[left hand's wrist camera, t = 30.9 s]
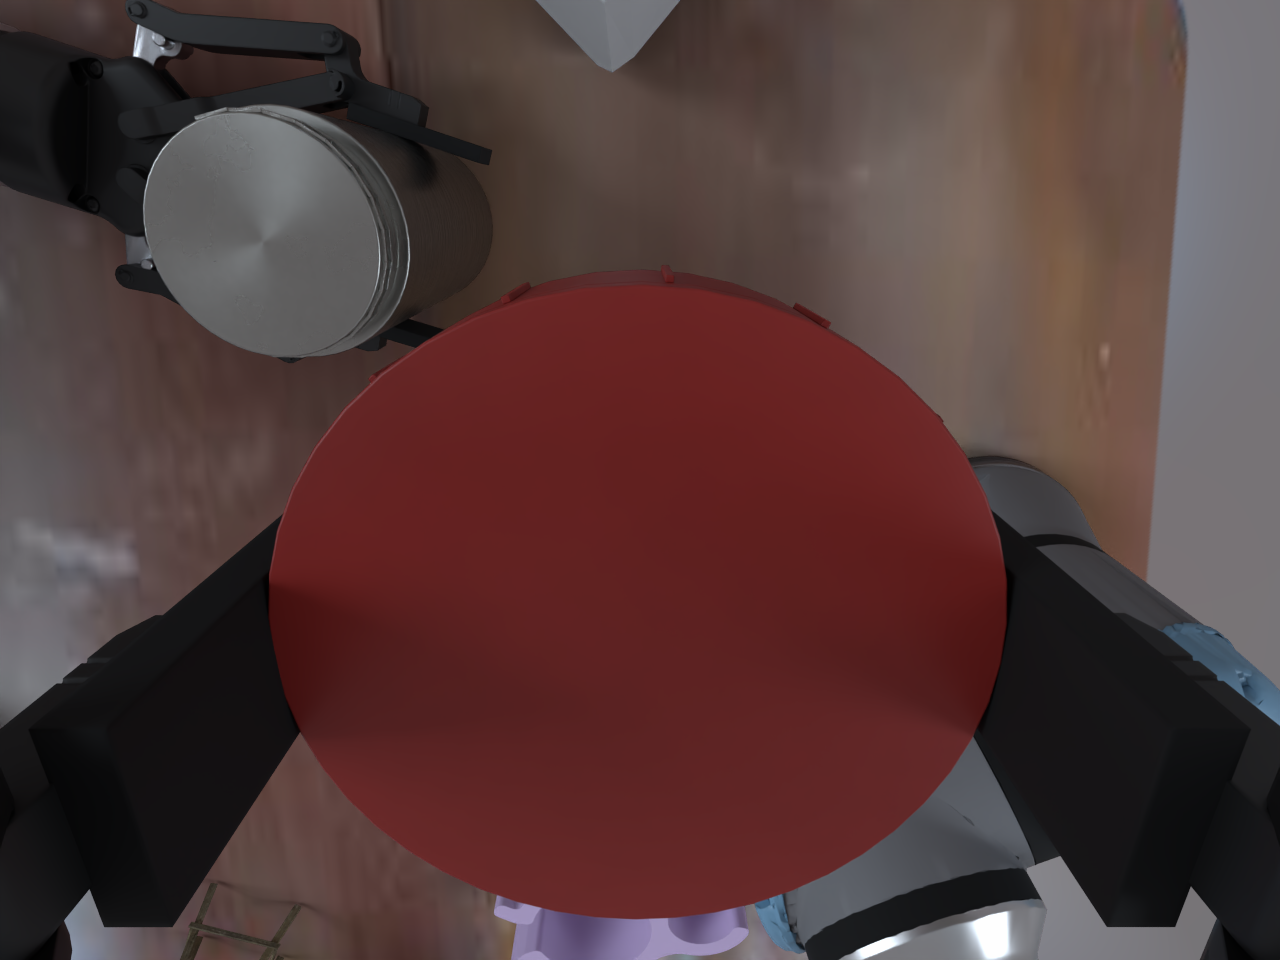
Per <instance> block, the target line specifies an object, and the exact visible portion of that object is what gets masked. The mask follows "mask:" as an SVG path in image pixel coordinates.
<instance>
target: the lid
mask: <svg viewBox="0 0 1280 960" xmlns="http://www.w3.org/2000/svg"><path fill="white" fill-rule="evenodd" d="M793 308H794V309H793ZM793 308H792V307H790V306H788V305H786V304H784V303H782V302H780V301H779V300H777V299H775V298H772V297H769V296H767V295H764V294H761V293H758V292H756V291H753V290H750V289H748V288H745V287H742V286H739V285H737V284H734V283H730V282H726V281H721V280H716V279H712V278H707V277H703V276H698V275H694V274H689V273H678V272H672V271H671V269H670V267H669V266H668V265H662V267H661V271H653V270H626V271H609V272H594V273H589V274H584V275H579V276H574V277H569V278H564V279H559V280H554V281H549V282H546V283H543V284H540V285H537V286H535V287H532V288H531V287H530V284H529V282H527V283H524V284H522V285H520V286H518V287H517V288H515V289H514V290H512V291H510V292H509V293H507V294H505V295H504V296H502V297H501V299H500V300H498V301H496V302H494V303H492V304H490V305H488V306H486V307H484V308H483V309H481V310H479V311H477V312H475V313H473V314H471V315H469V316H467V317H465V318H464V319H462V320H460V321H459V322H457V323H455V324H454V325H452V326H450V327H449V328H447V329H445V330H444V331H442V332H440V333H439V334H437V335H435V336H434V337H432V338H430V339H429V340H427V341H425V342H424V343H422V344H421V345H420V346H418V347H417V348H415V349H414V350H412V351H411V352H409V353H407V354H406V355H404V356H402V357H401V358H399V359H398V360H396V361H394V362H393V363H391V364H389V365H388V366H386V367H384V368H383V369H381V370H379V371H378V372H376V373H374V374H373V375H372V376H371V377H370V378H369V379H368V380H369V381H370V382H371V383H370V384H369V385H368V386H367V387H366V388H365V389H364V390H363V391H362V392H361V393H359V394H358V395H357V396H356V397H355V398H354V399H353V400H352V401H351V402H350V403H349V404H348V405H347V406H346V407H345V408H344V409H343V410H342V412H341V413H340V414H339V416H338V417H337V418H336V420H335V421H334V422H333V424H332V425H331V426H330V427H329V429H328V430H327V431H326V433H325V434H324V435H323V437H322V438H321V439H320V440H319V442H318V443H317V444H316V446H315V447H314V449H313V451H312V453H311V454H310V456H309V458H308V460H307V462H306V464H305V466H304V467H303V469H302V471H301V473H300V475H299V477H298V478H297V480H296V482H295V484H294V486H293V488H292V490H291V493H290V496H289V499H288V502H287V504H286V507H285V510H284V513H283V516H282V519H281V521H280V524H279V527H278V530H277V535H276V540H275V546H274V551H273V557H272V562H271V568H270V573H269V607H268V619H269V625H270V630H271V635H272V640H273V645H274V650H275V654H276V659H277V664H278V668H279V673H280V677H281V681H282V685H283V690H284V694H285V698H286V701H287V703H288V705H289V708H290V710H291V712H292V714H293V716H294V719H295V721H296V723H297V725H298V728H299V730H300V732H301V734H302V736H303V737H304V739H305V741H306V742H307V744H308V746H309V747H310V749H311V750H312V752H313V754H314V755H315V757H316V758H317V760H318V762H319V763H320V765H321V766H322V768H323V769H324V771H325V772H326V773H327V774H328V775H329V777H330V778H331V779H332V780H333V782H334V783H335V784H336V785H337V786H338V788H339V789H340V790H341V791H342V793H343V794H344V795H345V796H346V797H347V799H348V800H349V801H350V802H351V803H352V804H353V805H354V806H356V807H357V808H358V809H359V810H360V811H361V812H362V813H363V814H364V815H365V816H366V817H367V818H368V819H369V820H370V821H371V822H372V823H373V824H374V825H375V826H376V827H378V828H379V829H380V830H381V831H383V832H384V833H385V834H387V835H388V836H389V837H391V838H392V839H393V840H395V841H396V842H397V843H399V844H400V845H401V846H402V847H404V848H405V849H406V850H408V851H409V852H411V853H413V854H414V855H416V856H418V857H419V858H421V859H423V860H424V861H426V862H427V863H429V864H431V865H432V866H434V867H436V868H437V869H439V870H441V871H442V872H444V873H447V874H449V875H451V876H453V877H455V878H457V879H459V880H462V881H464V882H466V883H468V884H470V885H472V886H474V887H476V888H479V889H481V890H484V891H487V892H490V893H493V894H496V895H498V896H501V897H504V898H507V899H510V900H513V901H515V902H519V903H523V904H527V905H531V906H535V907H539V908H543V909H547V910H552V911H556V912H562V913H569V914H576V915H583V916H589V917H598V918H617V919H660V918H678V917H686V916H693V915H701V914H708V913H715V912H720V911H724V910H728V909H733V908H737V907H741V906H746V905H750V904H754V903H757V902H760V901H763V900H766V899H769V898H772V897H775V896H778V895H781V894H784V893H787V892H790V891H793V890H795V889H797V888H799V887H802V886H804V885H806V884H808V883H810V882H813V881H815V880H817V879H819V878H822V877H824V876H826V875H828V874H830V873H832V872H833V871H835V870H837V869H839V868H840V867H842V866H844V865H845V864H847V863H849V862H851V861H852V860H854V859H856V858H857V857H859V856H861V855H863V854H864V853H865V852H867V851H868V850H869V849H871V848H872V847H874V846H875V845H876V844H878V843H879V842H880V841H882V840H883V839H884V838H886V837H887V836H888V835H890V834H891V833H892V832H894V831H895V830H896V829H897V828H898V827H899V826H901V825H902V824H903V823H904V822H905V821H906V820H907V819H908V818H909V817H910V816H911V815H912V814H913V813H915V812H916V811H917V810H918V809H919V808H920V807H921V806H922V805H923V804H924V803H925V802H926V801H927V800H928V798H929V797H930V796H931V795H932V794H933V793H934V791H935V790H936V789H937V788H938V787H939V785H940V784H941V783H942V782H943V781H944V780H945V778H946V777H947V776H948V775H949V774H950V772H951V771H952V769H953V768H954V766H955V765H956V763H957V761H958V760H959V758H960V757H961V755H962V754H963V752H964V751H965V749H966V748H967V746H968V744H969V743H970V741H971V740H972V738H973V736H974V734H975V731H976V729H977V727H978V725H979V723H980V721H981V719H982V717H983V714H984V712H985V710H986V708H987V706H988V704H989V701H990V698H991V695H992V691H993V688H994V685H995V682H996V678H997V675H998V672H999V669H1000V665H1001V660H1002V654H1003V647H1004V641H1005V634H1006V627H1007V577H1006V571H1005V565H1004V559H1003V552H1002V546H1001V540H1000V535H999V532H998V529H997V526H996V523H995V520H994V517H993V514H992V511H991V508H990V505H989V502H988V499H987V496H986V493H985V491H984V489H983V487H982V486H981V484H980V482H979V480H978V478H977V476H976V474H975V472H974V470H973V468H972V466H971V464H970V462H969V460H968V458H967V456H966V455H965V453H964V451H963V450H962V449H961V447H960V446H959V444H958V443H957V442H956V440H955V439H954V438H953V436H952V435H951V434H950V432H949V431H948V429H947V428H946V427H945V425H944V424H943V420H942V418H941V417H940V416H939V415H937V414H936V413H935V412H934V411H933V410H932V409H931V408H930V407H929V406H928V405H927V404H926V403H925V402H924V401H923V400H922V399H921V398H920V397H919V396H918V395H917V394H916V393H915V392H914V391H913V390H912V389H911V388H910V387H909V386H908V385H907V384H906V383H905V382H904V381H903V380H902V379H901V378H900V377H898V376H897V375H896V374H894V373H893V372H892V371H890V370H889V369H888V368H886V367H885V366H884V365H882V364H881V363H880V362H878V361H877V360H875V359H874V358H873V357H871V356H870V355H869V354H867V353H866V352H865V351H863V350H862V349H861V348H859V347H858V346H856V345H855V344H853V343H852V342H850V341H848V340H847V339H845V338H843V337H842V336H840V335H838V334H837V333H835V332H834V331H832V330H830V329H829V326H830V324H831V322H829V321H828V320H826V319H824V318H822V317H821V316H819V315H817V314H815V313H814V312H812V311H810V310H808V309H807V308H805V307H803V306H802V305H800V304H798V303H796V304H795V305H794V307H793Z"/></svg>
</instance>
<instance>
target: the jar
mask: <svg viewBox="0 0 1280 960" xmlns="http://www.w3.org/2000/svg"><path fill="white" fill-rule="evenodd" d="M194 117H195V119H196V121H194V122H192V123H191V124H189V125H187V126H185V127H184V128H182V129H181V130H180V131H179V132H178V133H176V134H175V135H174V136H173V137H172V138H171V139H170V140H169V141H168V142H167V143H166V145H165V146H164V147H163V148H162V149H161V151H160V153H159V154H158V156H157V157H156V159H155V161H154V163H153V165H152V167H151V170H150V172H149V175H148V178H147V182H146V186H145V190H144V200H143V223H144V229H145V235H146V240H147V243H148V247H149V250H150V254H151V256H152V259H153V261H154V264H155V266H156V269H157V271H158V272H159V274H160V276H161V278H162V280H163V282H164V283H165V285H166V286H167V288H168V289H169V291H170V292H171V294H172V295H173V297H174V298H175V299H176V300H177V301H178V303H179V304H180V305H181V306H182V307H183V308H184V310H185V311H186V312H187V313H188V314H189V315H191V316H192V317H193V318H194V319H195V320H196V321H197V322H198V323H199V324H201V325H202V326H203V327H205V328H206V329H207V330H209V331H210V332H211V333H213V334H215V335H216V336H218V337H220V338H221V339H223V340H225V341H227V342H229V343H231V344H233V345H235V346H237V347H240V348H243V349H246V350H249V351H252V352H255V353H260V354H264V355H269V356H272V357H300V358H303V357H315V356H327V355H332V354H338V353H341V352H344V351H347V350H350V349H352V348H354V347H356V346H358V345H360V344H362V343H364V342H366V341H368V340H370V339H372V338H373V337H375V336H377V335H379V334H381V333H383V332H385V331H386V330H388V329H390V328H392V327H394V326H396V325H398V324H399V323H401V322H403V321H405V320H407V319H409V318H411V317H412V316H414V315H416V314H418V313H420V312H422V311H424V310H425V309H427V308H429V307H431V306H433V305H435V304H437V303H438V302H440V301H442V300H444V299H446V298H448V297H450V296H451V295H453V294H455V293H457V292H459V291H460V290H462V289H463V288H465V287H466V286H467V285H469V284H470V283H471V282H472V281H473V280H474V279H475V278H476V276H477V275H478V274H479V273H480V271H481V269H482V268H483V266H484V264H485V262H486V260H487V257H488V255H489V251H490V247H491V242H492V217H491V212H490V207H489V204H488V201H487V198H486V195H485V193H484V191H483V189H482V187H481V185H480V184H479V182H478V180H477V179H476V177H475V176H474V175H473V173H472V172H471V171H470V170H469V169H468V168H467V166H465V165H464V164H463V163H462V162H461V161H460V160H459V159H458V158H456V157H455V156H454V155H452V154H451V153H448V152H445V151H442V150H439V149H436V148H433V147H430V146H427V145H424V144H421V143H418V142H415V141H412V140H409V139H406V138H403V137H400V136H397V135H394V134H391V133H388V132H385V131H381V130H378V129H374V128H370V127H366V126H363V125H359V124H355V123H352V122H348V121H344V120H340V119H337V118H333V117H329V116H326V115H322V114H318V113H314V112H311V111H307V110H303V109H299V108H295V107H291V106H287V105H277V104H253V105H248V106H243V107H238V108H228V107H225V108H221V109H218V110H214V111H211V112H208V113H204V114H201V115H197V116H194Z"/></svg>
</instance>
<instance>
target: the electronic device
mask: <svg viewBox="0 0 1280 960" xmlns="http://www.w3.org/2000/svg"><path fill="white" fill-rule="evenodd" d="M536 1H537V2H538V3H539V4H540V5H541V6H542V7H543V8H544V9H545V10H546V12H547V13H548V14H549V15H550V16H551V17H552V18H553V19H554V20H555V21H556V22H557V23H558V24H559V25H560V26H561V27H562V28H563V29H564V31H565V32H566V33H567V34H568V35H569V36H570V37H571V38H572V39H573V40H574V41H575V42H576V43H577V44H578V45H579V46H580V47H581V49H582V50H583V51H584V52H585V53H586V54H587V55H588V56H589V57H590V58H591V59H592V60H593V61H594V62H595V63H596V64H597V65H598V66H600V67H602V68H604V69H606V70H608V71H610V72H614V71H615V70H616V69H618V68H619V67H621V66H622V65H623V64H625V63H626V62H628V61H629V60H630V59H632V58H633V57H634V56H635V55H636V54H637V53H638V51H639V50H640V49H641V48H642V47H643V45H644V44H645V43H646V42H647V40H648V39H649V38H650V37H651V35H652V34H653V33H654V32H655V31H656V29H657V28H658V27H659V26H660V24H661V23H662V22H663V21H664V19H665V18H666V17H667V16H668V15H669V13H670V12H671V11H672V10H673V8H674V7H675V6H676V5H677V4H678V2H679V1H680V0H536Z"/></svg>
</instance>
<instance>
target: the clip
mask: <svg viewBox="0 0 1280 960" xmlns="http://www.w3.org/2000/svg"><path fill="white" fill-rule="evenodd" d="M494 914H495V915H496V916H497V917H500V918H502V919H505V920H508V921H510V922H513V923H517V926H516V932H515V939H514V945H513V951H512V958H511V960H657V959H658V958H661V957H663V956H666V955H670V954H688V955H711V954H716V953H720V952H723V951H726V950H728V949H731V948H733V947H734V946H736V945H738V944H739V943H740V942H741V941H743V940H744V939H745V938H746V936H747V935H748V934H749V930H748V924H747V918H746V912H745V906H741V907H737V908H733V909H728V910H724V911H720V912H715V913H708V914H701V915H693V916H686V917H678V918H660V919H617V918H598V917H589V916H583V915H576V914H569V913H562V912H556V911H552V910H547V909H543V908H539V907H535V906H531V905H527V904H523V903H519V902H515V901H513V900H510V899H507V898H504V897H501V896H498V895H497V899H496V905H495V910H494Z"/></svg>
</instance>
